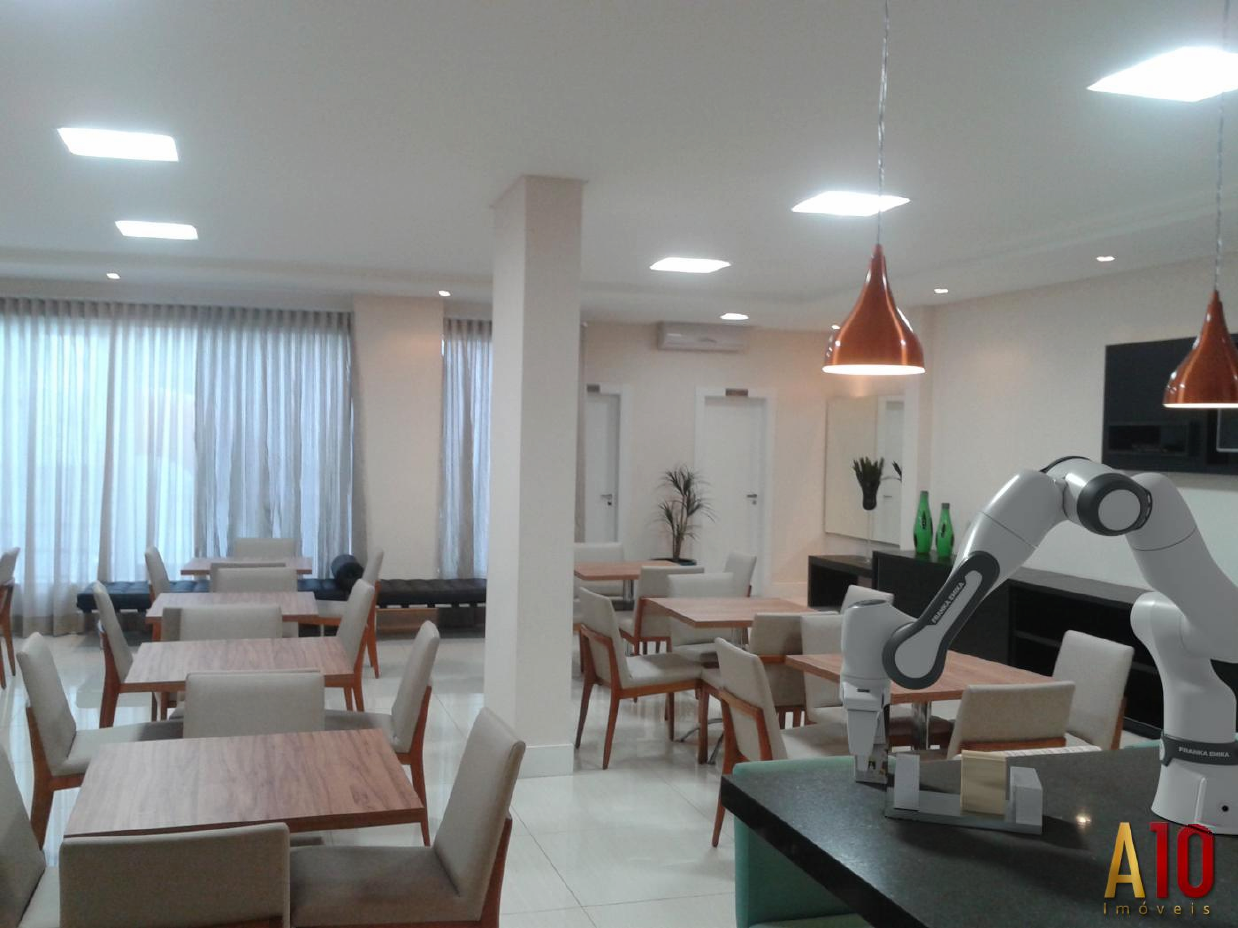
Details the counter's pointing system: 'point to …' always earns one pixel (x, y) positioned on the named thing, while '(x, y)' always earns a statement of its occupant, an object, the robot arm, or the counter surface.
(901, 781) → the block
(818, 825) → the counter surface
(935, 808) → the vise base
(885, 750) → the coffee box
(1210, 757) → the robot arm
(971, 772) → the maple block
